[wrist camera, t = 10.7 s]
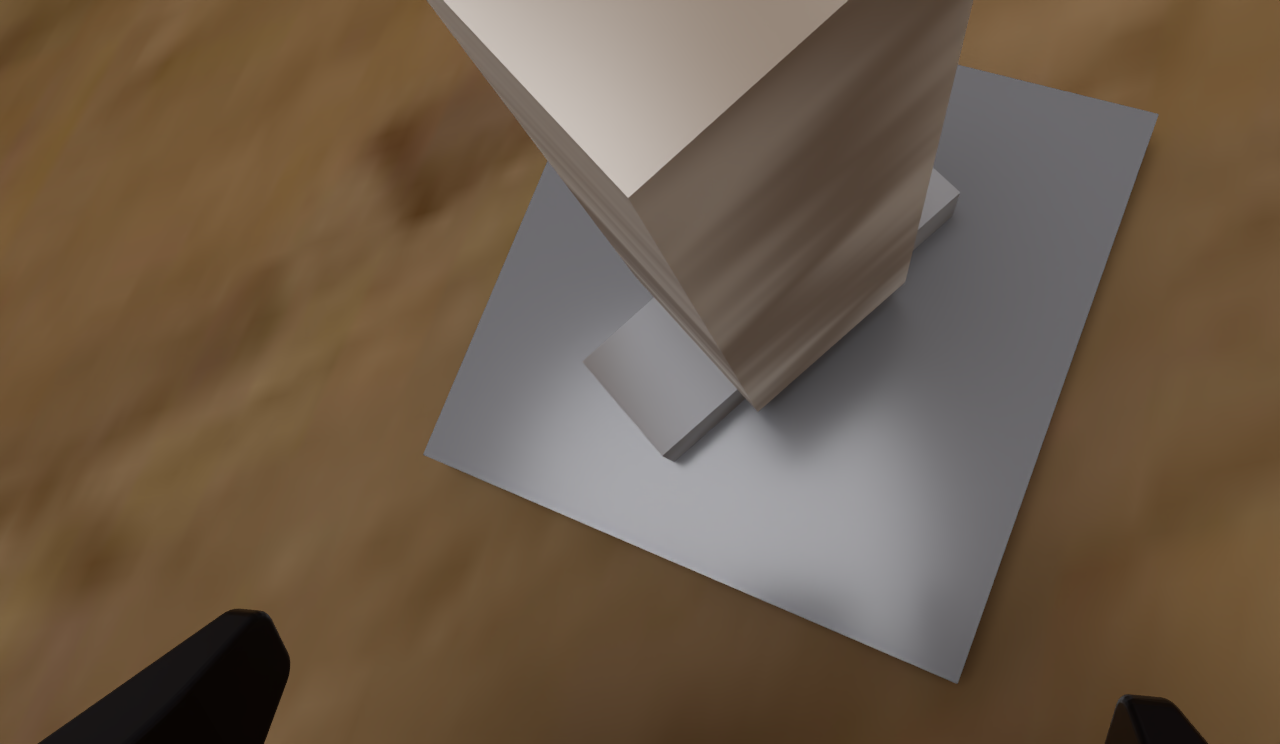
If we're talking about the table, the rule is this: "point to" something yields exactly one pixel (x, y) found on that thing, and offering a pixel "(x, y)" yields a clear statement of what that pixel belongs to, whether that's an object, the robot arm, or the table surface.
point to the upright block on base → (732, 172)
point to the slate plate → (829, 389)
